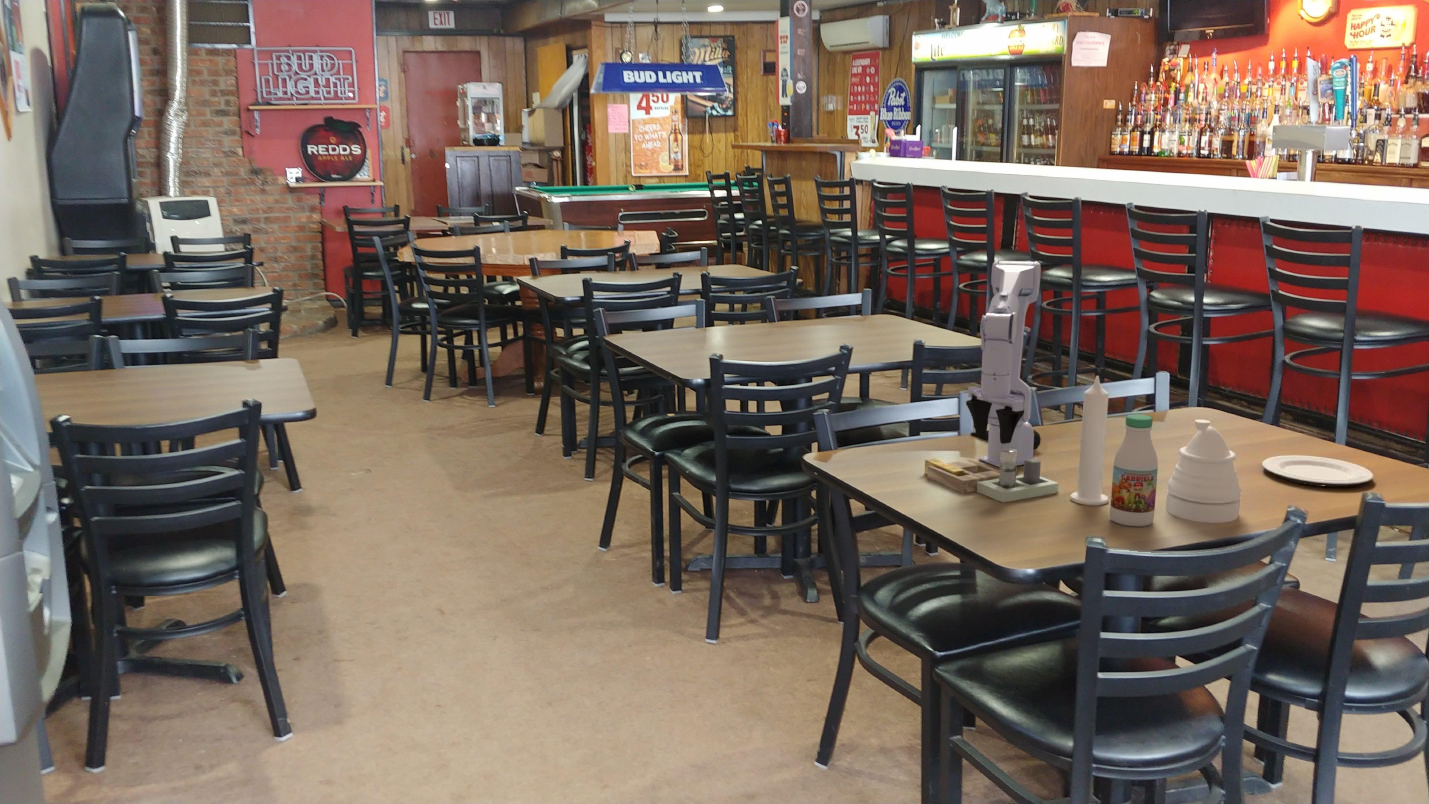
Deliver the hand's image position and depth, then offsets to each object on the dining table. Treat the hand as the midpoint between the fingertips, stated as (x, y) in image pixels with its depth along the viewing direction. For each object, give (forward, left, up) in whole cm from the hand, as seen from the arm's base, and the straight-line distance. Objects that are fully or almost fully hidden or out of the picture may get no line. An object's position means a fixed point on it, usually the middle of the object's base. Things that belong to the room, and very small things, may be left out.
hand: (993, 438), depth 231 cm
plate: (-65, +25, -11) cm, 71 cm away
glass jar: (0, +5, -10) cm, 12 cm away
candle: (-11, +16, -11) cm, 22 cm away
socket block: (+2, -5, -10) cm, 12 cm away
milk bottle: (-9, +29, -11) cm, 32 cm away
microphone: (-25, -25, -11) cm, 37 cm away
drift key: (+5, -9, -10) cm, 15 cm away
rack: (-2, +5, -10) cm, 12 cm away
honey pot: (-25, +31, -11) cm, 41 cm away
